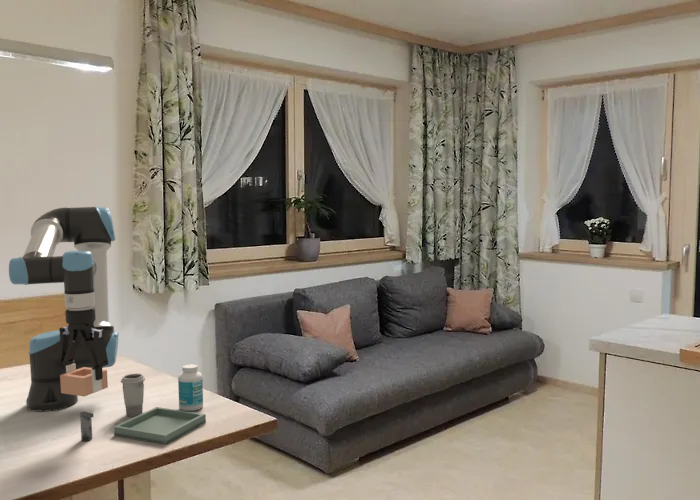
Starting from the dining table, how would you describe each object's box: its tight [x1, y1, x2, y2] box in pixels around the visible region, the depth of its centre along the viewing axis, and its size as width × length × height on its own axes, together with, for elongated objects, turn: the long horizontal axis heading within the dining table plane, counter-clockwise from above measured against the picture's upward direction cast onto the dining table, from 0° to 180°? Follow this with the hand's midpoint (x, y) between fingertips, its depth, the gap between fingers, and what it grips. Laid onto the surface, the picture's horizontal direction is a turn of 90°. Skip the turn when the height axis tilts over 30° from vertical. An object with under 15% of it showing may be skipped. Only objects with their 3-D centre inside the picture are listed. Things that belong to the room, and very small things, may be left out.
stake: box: [79, 411, 94, 442], centre depth 176 cm, size 4×3×8 cm
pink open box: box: [60, 367, 109, 397], centre depth 176 cm, size 8×10×5 cm
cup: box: [120, 372, 146, 418], centre depth 196 cm, size 7×7×12 cm
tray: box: [113, 406, 207, 445], centre depth 184 cm, size 18×18×2 cm
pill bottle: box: [177, 363, 204, 412], centre depth 201 cm, size 8×7×14 cm
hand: (84, 389), depth 176 cm, fingers closed on pink open box, 8 cm apart
